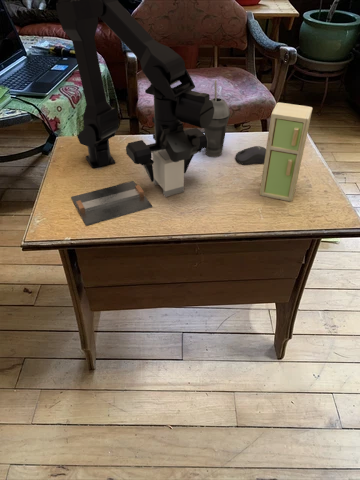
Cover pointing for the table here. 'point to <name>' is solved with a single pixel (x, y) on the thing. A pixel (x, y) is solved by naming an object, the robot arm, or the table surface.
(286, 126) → the toy refrigerator
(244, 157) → the computer mouse
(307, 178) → the table surface
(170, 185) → the rail module
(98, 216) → the rail
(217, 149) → the beverage cup
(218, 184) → the table surface
